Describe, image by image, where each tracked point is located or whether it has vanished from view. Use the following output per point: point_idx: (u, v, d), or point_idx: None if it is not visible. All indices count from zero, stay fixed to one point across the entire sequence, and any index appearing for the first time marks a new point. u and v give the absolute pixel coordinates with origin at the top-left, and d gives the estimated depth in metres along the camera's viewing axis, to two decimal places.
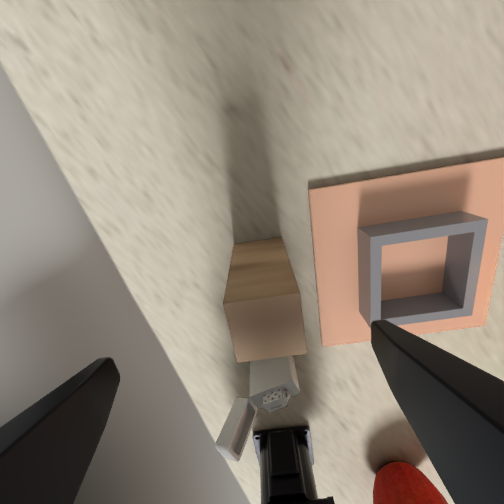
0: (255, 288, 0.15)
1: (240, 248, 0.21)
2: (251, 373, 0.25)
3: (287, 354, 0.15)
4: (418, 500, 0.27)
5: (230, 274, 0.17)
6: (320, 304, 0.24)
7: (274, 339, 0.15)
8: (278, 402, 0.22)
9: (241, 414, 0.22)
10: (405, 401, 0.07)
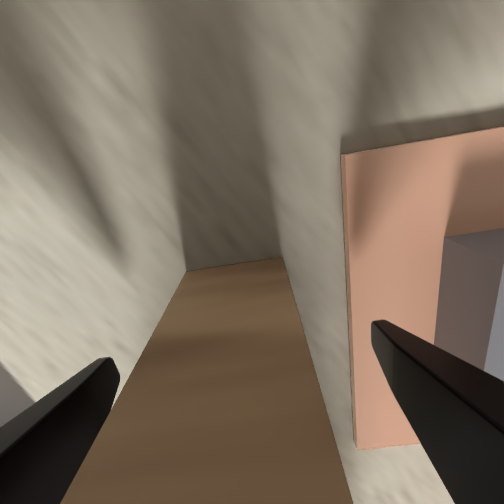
0: None
1: (194, 282, 0.10)
2: None
3: None
4: None
5: (131, 382, 0.06)
6: (357, 382, 0.12)
7: None
8: None
9: None
10: (405, 401, 0.07)
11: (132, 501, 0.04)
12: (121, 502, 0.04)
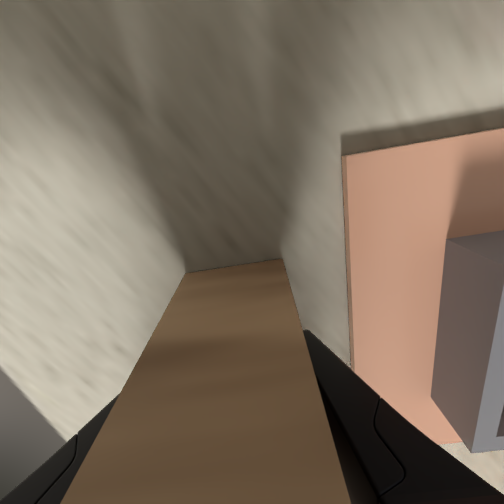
0: None
1: (193, 285, 0.10)
2: None
3: None
4: None
5: (128, 388, 0.06)
6: None
7: None
8: None
9: None
10: None
11: None
12: None
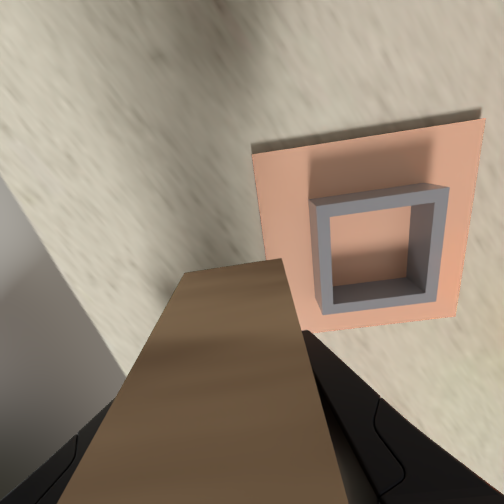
0: None
1: (192, 284, 0.10)
2: None
3: None
4: None
5: (126, 388, 0.06)
6: None
7: None
8: None
9: None
10: None
11: None
12: None
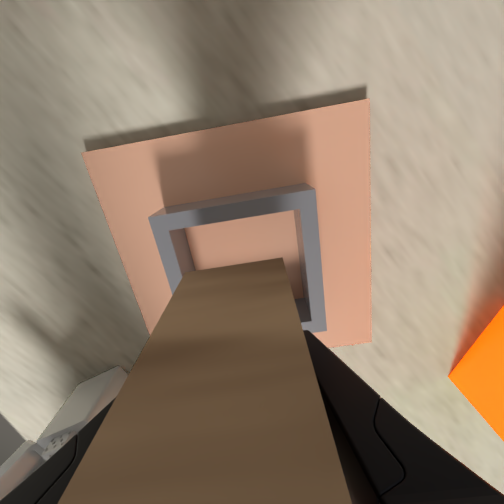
0: None
1: (193, 284, 0.10)
2: (63, 405, 0.19)
3: None
4: None
5: (127, 387, 0.06)
6: (143, 314, 0.18)
7: None
8: None
9: (9, 469, 0.15)
10: None
11: None
12: None
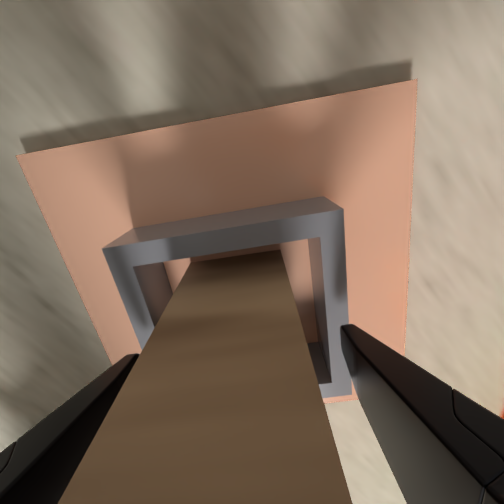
0: (188, 441, 0.04)
1: (198, 272, 0.11)
2: None
3: None
4: None
5: (145, 353, 0.06)
6: (112, 361, 0.14)
7: None
8: None
9: None
10: (367, 406, 0.07)
11: (152, 439, 0.04)
12: (143, 439, 0.04)
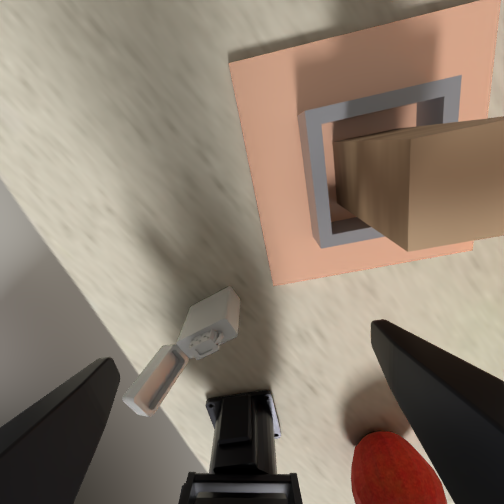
0: (443, 129, 0.09)
1: (348, 139, 0.16)
2: (186, 319, 0.20)
3: (488, 235, 0.10)
4: (400, 472, 0.23)
5: (371, 140, 0.12)
6: (263, 228, 0.19)
7: (476, 206, 0.09)
8: (207, 345, 0.17)
9: (161, 361, 0.17)
10: (405, 401, 0.07)
11: (423, 132, 0.10)
12: (419, 133, 0.10)
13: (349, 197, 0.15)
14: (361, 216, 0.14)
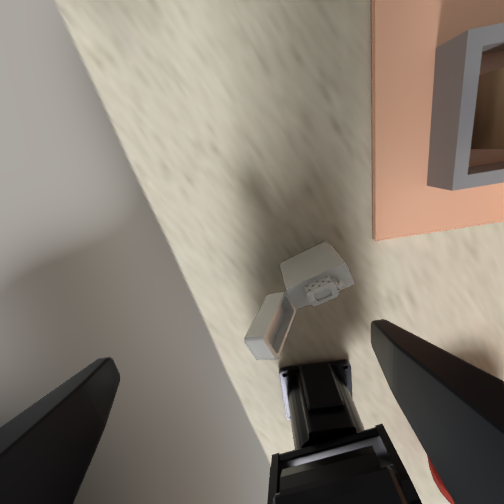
0: None
1: None
2: (284, 272, 0.19)
3: None
4: None
5: None
6: (377, 174, 0.18)
7: None
8: (327, 290, 0.16)
9: (277, 305, 0.16)
10: (405, 401, 0.07)
11: None
12: None
13: (498, 130, 0.15)
14: None
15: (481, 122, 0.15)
